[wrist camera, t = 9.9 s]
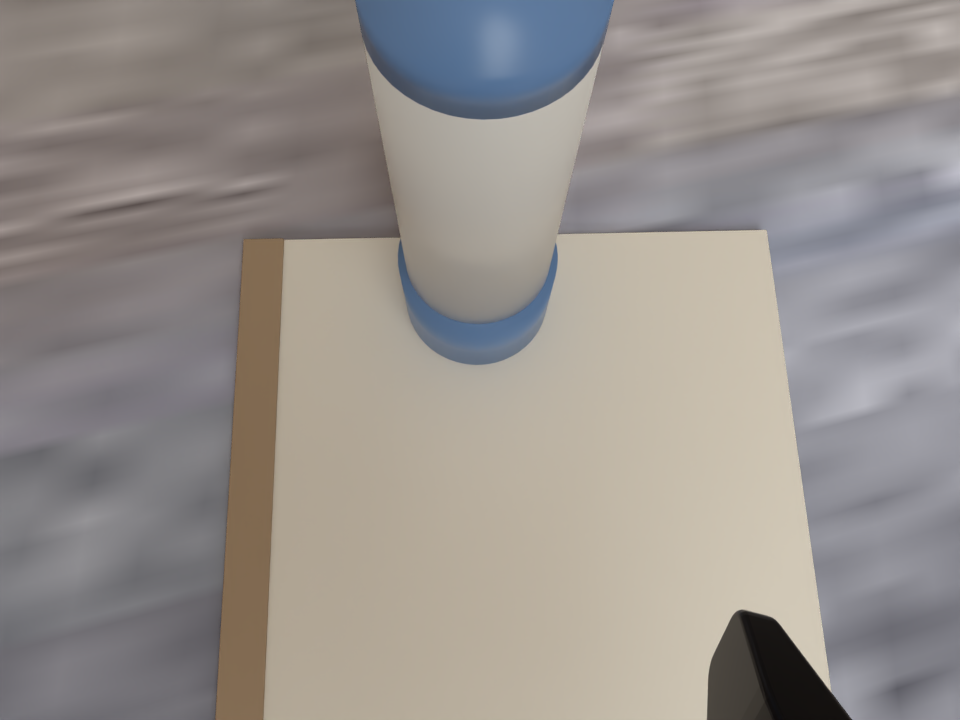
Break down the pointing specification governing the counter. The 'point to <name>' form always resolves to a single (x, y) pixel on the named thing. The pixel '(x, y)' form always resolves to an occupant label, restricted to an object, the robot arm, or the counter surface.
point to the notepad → (509, 489)
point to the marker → (480, 155)
